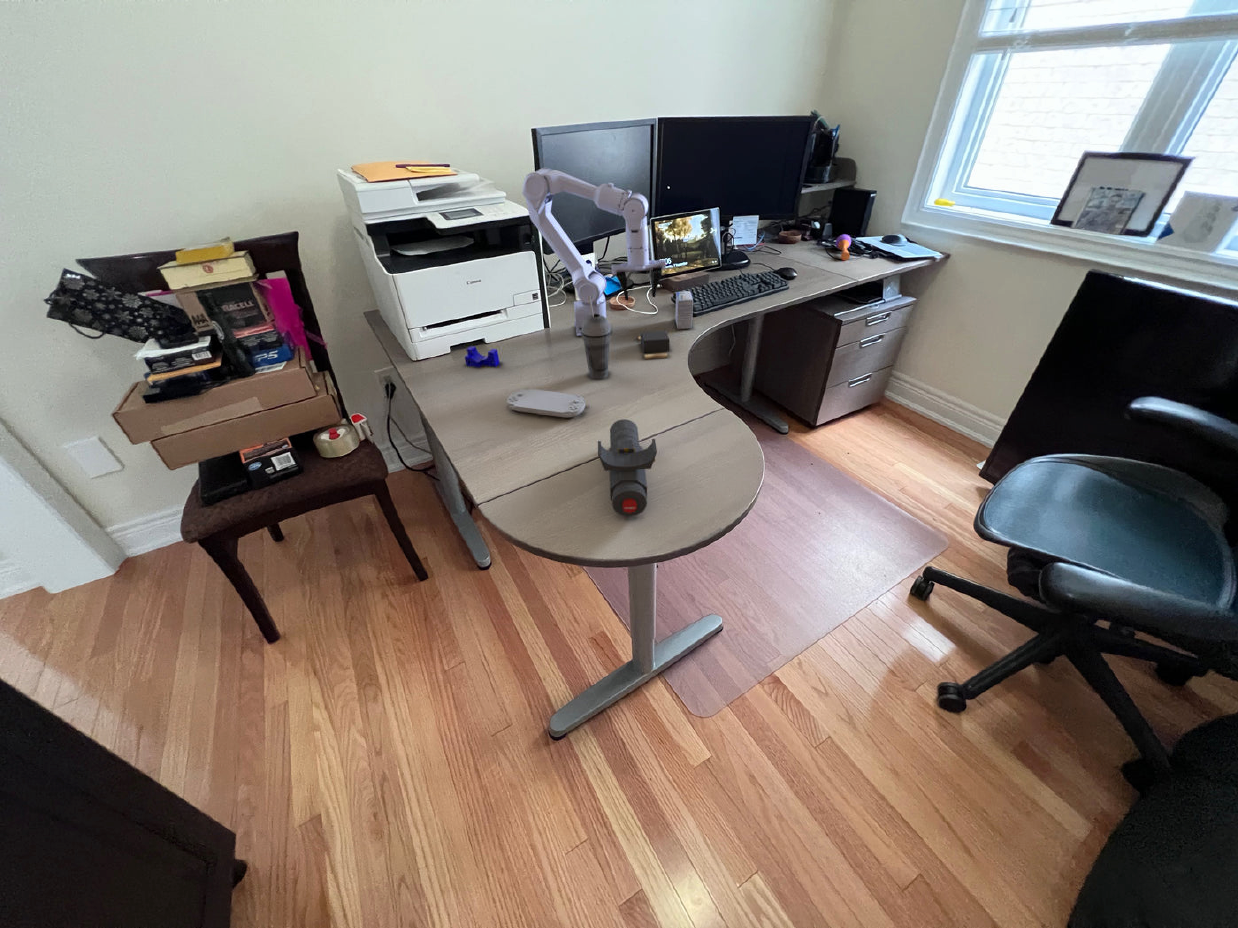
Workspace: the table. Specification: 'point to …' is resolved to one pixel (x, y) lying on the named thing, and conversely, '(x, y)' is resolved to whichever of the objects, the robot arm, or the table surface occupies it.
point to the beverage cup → (596, 343)
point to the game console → (546, 402)
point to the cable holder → (481, 358)
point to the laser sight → (627, 467)
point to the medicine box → (684, 310)
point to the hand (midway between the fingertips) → (640, 297)
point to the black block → (654, 341)
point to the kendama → (843, 246)
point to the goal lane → (660, 355)
